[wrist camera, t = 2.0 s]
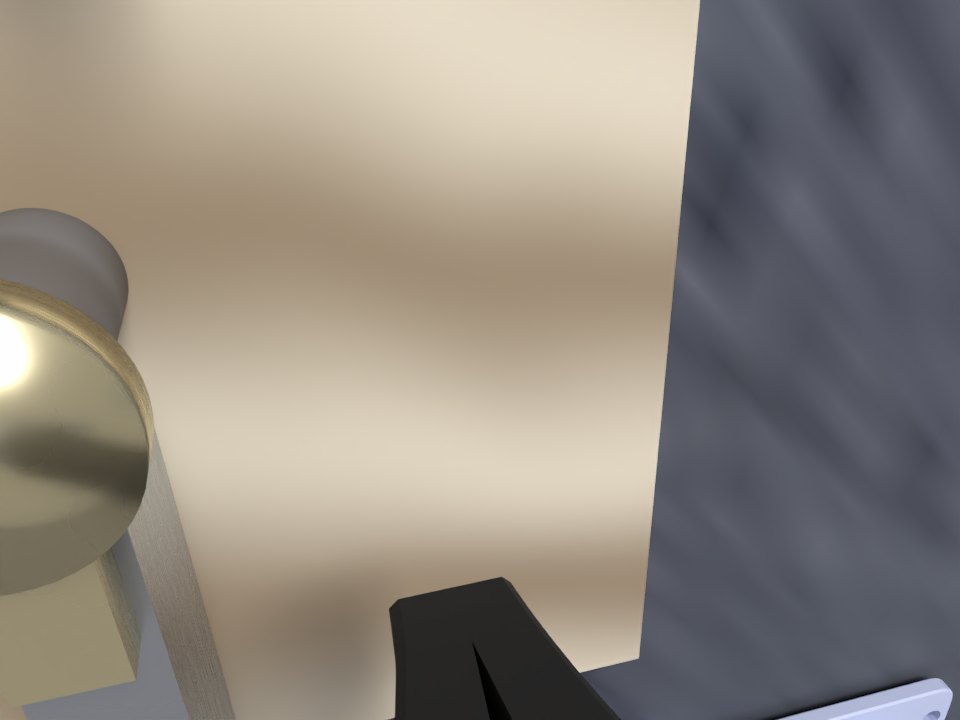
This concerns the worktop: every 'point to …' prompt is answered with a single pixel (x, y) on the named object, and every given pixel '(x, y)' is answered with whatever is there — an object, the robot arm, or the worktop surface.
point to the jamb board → (369, 299)
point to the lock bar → (91, 533)
